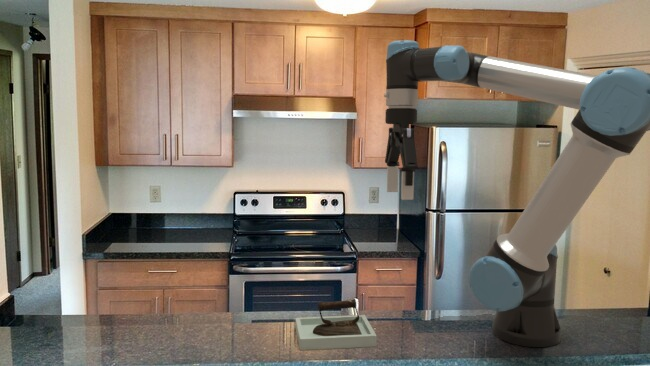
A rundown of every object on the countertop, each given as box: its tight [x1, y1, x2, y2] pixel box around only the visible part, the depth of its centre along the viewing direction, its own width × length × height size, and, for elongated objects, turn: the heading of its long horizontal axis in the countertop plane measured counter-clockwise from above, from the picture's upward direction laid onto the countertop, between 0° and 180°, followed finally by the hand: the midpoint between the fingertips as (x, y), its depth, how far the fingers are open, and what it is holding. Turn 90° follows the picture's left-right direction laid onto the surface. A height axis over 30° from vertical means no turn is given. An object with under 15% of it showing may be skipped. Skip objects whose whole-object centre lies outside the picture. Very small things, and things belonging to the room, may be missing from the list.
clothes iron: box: [313, 298, 362, 336], centre depth 125 cm, size 7×11×10 cm, turn 97°
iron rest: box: [294, 314, 378, 351], centre depth 126 cm, size 17×13×2 cm
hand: (399, 195), depth 132 cm, fingers open, 13 cm apart
